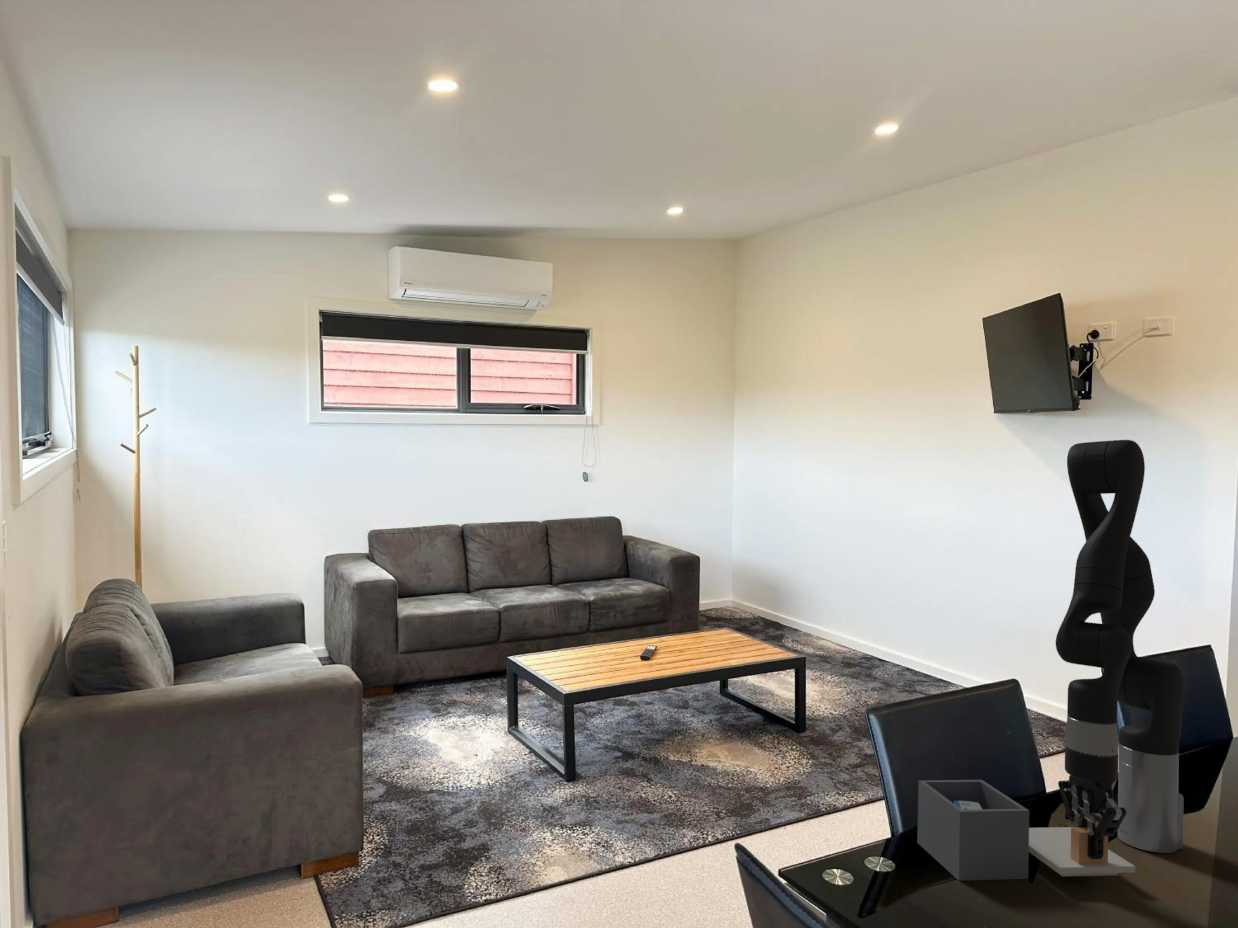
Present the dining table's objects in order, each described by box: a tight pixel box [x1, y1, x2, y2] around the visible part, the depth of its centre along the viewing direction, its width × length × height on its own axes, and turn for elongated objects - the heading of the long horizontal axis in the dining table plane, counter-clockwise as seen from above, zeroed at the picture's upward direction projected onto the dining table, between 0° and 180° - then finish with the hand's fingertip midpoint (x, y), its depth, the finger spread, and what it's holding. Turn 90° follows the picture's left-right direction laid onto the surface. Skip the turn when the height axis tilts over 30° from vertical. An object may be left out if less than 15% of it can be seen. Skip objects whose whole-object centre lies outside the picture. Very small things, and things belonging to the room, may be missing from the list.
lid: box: [1029, 826, 1136, 877], centre depth 138 cm, size 13×15×7 cm
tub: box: [916, 779, 1030, 881], centre depth 140 cm, size 12×14×11 cm
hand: (1089, 854), depth 132 cm, fingers closed on lid
